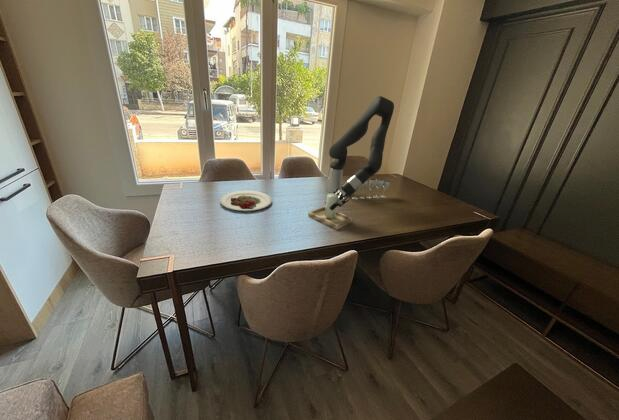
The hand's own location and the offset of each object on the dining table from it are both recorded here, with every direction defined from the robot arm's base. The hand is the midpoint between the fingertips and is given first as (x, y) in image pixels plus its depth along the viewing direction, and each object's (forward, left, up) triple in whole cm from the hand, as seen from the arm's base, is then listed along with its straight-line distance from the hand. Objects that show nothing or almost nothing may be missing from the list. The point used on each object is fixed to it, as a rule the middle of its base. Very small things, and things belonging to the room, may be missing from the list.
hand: (328, 206), depth 137 cm
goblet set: (-3, +50, -8) cm, 51 cm away
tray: (+1, +1, -8) cm, 8 cm away
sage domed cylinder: (+1, +1, -6) cm, 6 cm away
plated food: (-45, -22, -8) cm, 51 cm away
